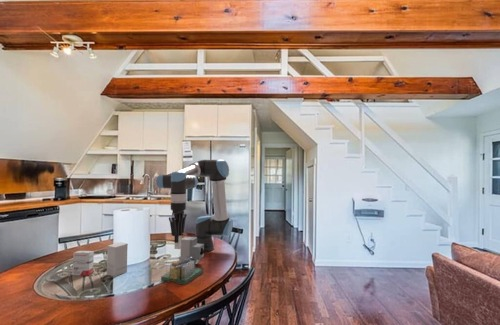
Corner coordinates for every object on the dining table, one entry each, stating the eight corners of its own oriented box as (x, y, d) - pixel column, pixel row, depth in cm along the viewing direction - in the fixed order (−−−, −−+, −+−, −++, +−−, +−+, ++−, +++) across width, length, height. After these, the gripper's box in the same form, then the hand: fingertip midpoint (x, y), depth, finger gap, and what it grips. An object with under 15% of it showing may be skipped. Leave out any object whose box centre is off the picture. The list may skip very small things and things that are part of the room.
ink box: (93, 272, 154) (94, 250, 155) (88, 275, 149) (89, 252, 150) (77, 272, 154) (78, 250, 155) (72, 275, 149) (72, 252, 150)
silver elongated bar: (187, 259, 158) (188, 255, 159) (194, 259, 157) (194, 256, 157) (170, 266, 143) (170, 262, 143) (177, 267, 142) (177, 263, 142)
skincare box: (119, 270, 158) (120, 241, 159) (127, 272, 155) (128, 243, 156) (105, 275, 151) (106, 245, 151) (114, 277, 148) (115, 246, 148)
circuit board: (180, 269, 161) (181, 256, 161) (203, 272, 156) (203, 259, 157) (161, 280, 144) (161, 266, 144) (185, 284, 139) (185, 269, 140)
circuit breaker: (201, 266, 166) (202, 240, 166) (178, 264, 169) (179, 239, 169) (206, 262, 173) (206, 237, 174) (184, 261, 176) (184, 236, 177)
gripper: (179, 200, 153) (178, 244, 153) (164, 203, 141) (163, 251, 141) (191, 201, 151) (190, 246, 150) (177, 203, 139) (176, 252, 138)
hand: (177, 248), depth 145 cm, fingers closed
